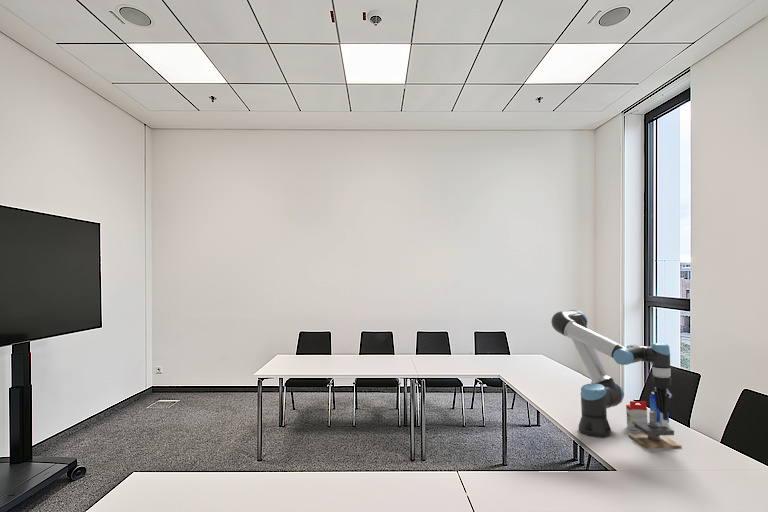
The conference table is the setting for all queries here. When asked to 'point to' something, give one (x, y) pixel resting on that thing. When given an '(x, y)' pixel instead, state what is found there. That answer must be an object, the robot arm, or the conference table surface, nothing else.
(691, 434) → the conference table surface
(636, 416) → the ink box
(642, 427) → the square holed plate
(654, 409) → the beer can
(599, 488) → the conference table surface
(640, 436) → the pipe stand
